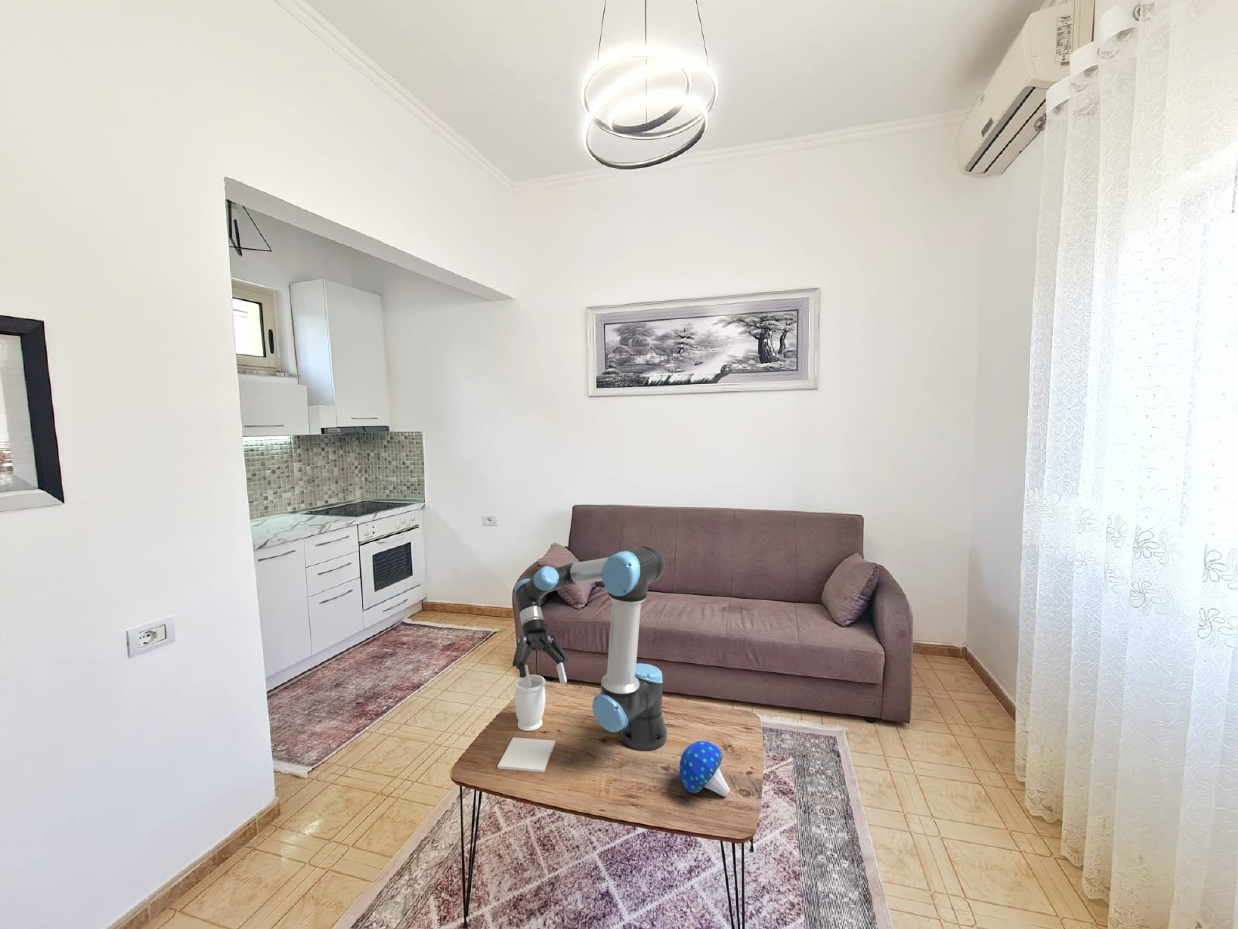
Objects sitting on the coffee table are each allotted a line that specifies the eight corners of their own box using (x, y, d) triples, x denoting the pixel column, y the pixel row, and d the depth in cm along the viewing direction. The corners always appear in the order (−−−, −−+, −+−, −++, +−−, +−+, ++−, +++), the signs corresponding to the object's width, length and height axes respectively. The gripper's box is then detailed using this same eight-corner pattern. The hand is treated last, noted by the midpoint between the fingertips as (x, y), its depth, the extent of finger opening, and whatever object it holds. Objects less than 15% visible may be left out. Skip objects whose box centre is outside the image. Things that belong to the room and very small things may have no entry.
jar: (538, 735, 161) (538, 691, 160) (509, 731, 163) (509, 687, 163) (549, 717, 172) (549, 676, 171) (522, 714, 174) (521, 672, 173)
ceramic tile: (555, 743, 157) (555, 740, 157) (543, 772, 143) (543, 770, 143) (513, 739, 159) (513, 737, 159) (497, 768, 145) (497, 766, 145)
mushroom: (743, 786, 127) (698, 740, 132) (708, 826, 128) (664, 779, 133) (744, 763, 141) (703, 722, 145) (712, 799, 142) (673, 758, 146)
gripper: (556, 627, 178) (571, 686, 166) (494, 628, 162) (506, 694, 150) (568, 617, 174) (584, 677, 162) (505, 617, 158) (518, 684, 146)
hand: (546, 685), depth 156 cm, fingers open, 13 cm apart
